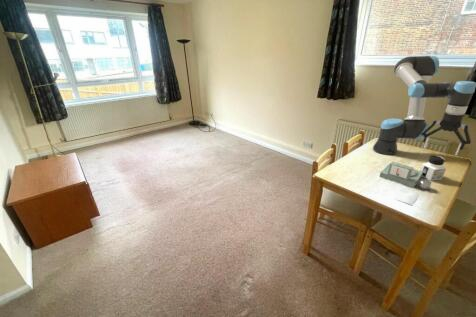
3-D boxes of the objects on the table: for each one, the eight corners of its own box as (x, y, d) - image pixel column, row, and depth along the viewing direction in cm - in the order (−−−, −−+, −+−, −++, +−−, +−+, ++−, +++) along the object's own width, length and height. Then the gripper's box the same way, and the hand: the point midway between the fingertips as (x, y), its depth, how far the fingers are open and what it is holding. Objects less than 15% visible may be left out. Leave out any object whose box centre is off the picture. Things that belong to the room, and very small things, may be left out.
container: (430, 181, 127) (438, 160, 121) (418, 174, 134) (425, 154, 128) (442, 179, 128) (450, 159, 122) (429, 172, 135) (437, 153, 129)
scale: (389, 166, 143) (393, 152, 139) (421, 176, 132) (427, 161, 127) (379, 177, 133) (383, 162, 129) (413, 188, 121) (419, 172, 117)
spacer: (418, 184, 125) (420, 178, 123) (429, 187, 121) (432, 181, 120) (416, 188, 122) (418, 181, 120) (427, 191, 118) (430, 185, 117)
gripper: (422, 110, 120) (410, 146, 130) (488, 119, 103) (469, 160, 113) (426, 108, 125) (414, 143, 134) (490, 116, 108) (471, 155, 117)
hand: (439, 151), depth 124 cm, fingers open, 13 cm apart
